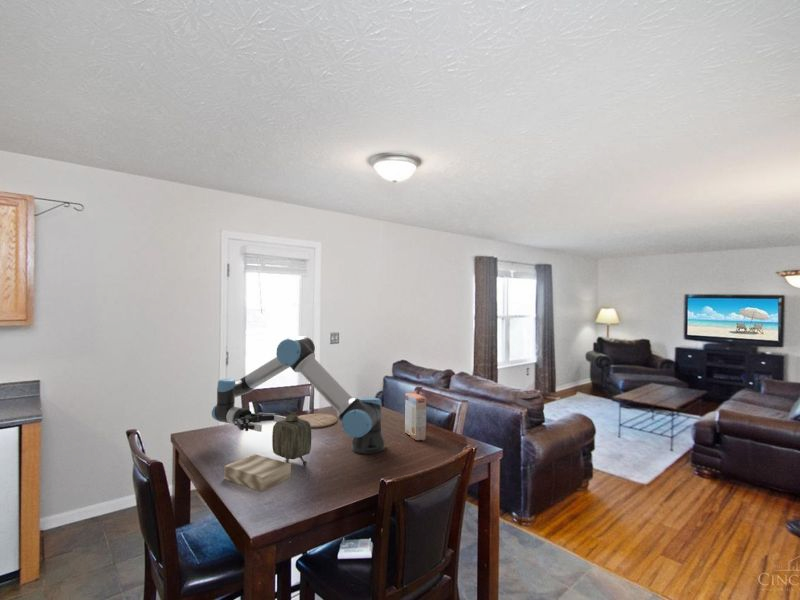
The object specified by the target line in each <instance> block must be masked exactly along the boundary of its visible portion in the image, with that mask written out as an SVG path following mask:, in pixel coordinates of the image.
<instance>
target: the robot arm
mask: <svg viewBox="0 0 800 600" xmlns="http://www.w3.org/2000/svg"><path fill="white" fill-rule="evenodd" d="M315 351H316V346H315V343H314V341H313V340H312V339H311V338H309V337H308V336H305V335H304V336H303V335H302V336H295V337H287V338H285V339H283V340H281V342H279V344H278V345H277V347H276V356H275V357H274V358H272V359H270V360H269V361H268V362H266V363H264V364H263V365H260V366H259V367H257V368H256V369H255V370H253V371H251V372H250V373H248V374H247V375H245V376H243V377H241V378H240V379H238V380H237V379H234V378H222V379H219V380H218V381H217V388H216V404H215V405H214V407H212V408H213V409H212V410H211V417H212V418H213V420H215V421H217V422H220V423H225V424H226V423H227V424H231V425H233V426H237V428H238V429H239V430H240V431H245V432H248V431H249V430H251V431H255V432H262V431H263V430H262V426H263V425H262V424H261V423H260V422H272V421H273V422H275V423H276V422H279V421H282V420H286V417H287V416H284V415H283V416H282V415H280V413H277V412H275V413H274V412H272V413H271V412H257V413H255V412H254V413H252V411H251V410H250V409H249V408H248V409H247V408H243V407H238V406H235V404H236V403H235V401H236V398H237V397H240V396H243V395H246V394H249V393H252V391H253V390H254V389H255V388H257V387H259V386H260V385H262V384H263V383H265V382H267V381H269V380H270V379H273V378H274V377H275V376H277V375H279V374H281V373H282V372H285V371H286V370H288V369H289V368H290V369H292V371H294V373H300V374H301V375H302V376H303V377H304V378H305V379H306V380H307V381H308V383H309V384H310V385H311V386H312V387H313V388H314V389H315V390H316V391H317V392H318V393H319V394H320V395H321V396H322V397H323V398H324V399H325V400H326V401H327V403H328V404H329V405H330V406H331V407H332V408H333V409H334V410H335V411H336V413H337V420H339V421H340V422H341V427H342V430H343V431H344V433H346V435H348V436H349V437H351V438H353V439H352V443H351V450H352V451H353V452H355V453H358V454H361V455H362V454H363V455H370V454H371V455H372V454H373V453H374V454H377V453H381V452H383V451H384V450H385V448H386V443H385V440H384V436H383V433H382V400H381V399H380V398H378V397H377V398H376V397H352V396H351V395H350V394H349V393H348V391H346V390H345V389H344V387H343V386H342V385H340V383H339V382H338V381H337V380H336V379H335V378H334V377H333V376H332V375H331V374H330V373H329V371H327V369H325V368H324V367H323V365H322V364H321V363H319V361H318V360H317V359H316V353H315ZM382 450H383V451H382ZM380 451H381V452H380ZM374 454H373V455H374Z"/></svg>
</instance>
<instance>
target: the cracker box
mask: <svg viewBox="0 0 800 600" xmlns="http://www.w3.org/2000/svg"><path fill="white" fill-rule="evenodd" d="M404 395H405V399H404V401H405V403H404V404H405V405H404V407H405V408H404V411H405V415H404V421H405V422H404V434H405V433H407V434H408V435H410V436H411V437H412V438H414V439H415V440H419V439H426V440H427V397H425V396H423V395H420V394H418V393H417V392H406V393H405V394H404ZM407 434H406V435H407ZM408 435H407V436H408ZM411 437H410V438H411ZM412 438H411V439H412ZM414 439H413V440H414ZM415 440H414V441H415Z"/></svg>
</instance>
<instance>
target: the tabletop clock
mask: <svg viewBox="0 0 800 600" xmlns="http://www.w3.org/2000/svg"><path fill="white" fill-rule="evenodd" d="M288 406H294V407H295V408H296V411H294V409H291V410H290V409H288ZM286 411H287V412H288V413H289V414H287V416H285V417H286V420H282V421H279V422H275V423H274V424H273V427H272V437H271V438H272V439H271V442H272V443H271V444H272V452H273V454H274V455H276V456H279V457H281V458H284V459H286V461H285V462H286V463H290V462H289V461H290V460H297V459H298V458H299V459H300V460H301V461H302V465H303V466H306V465H307V464H308V463H307V461H306V460H305V459H304V458H303V457H304V456H306V455H309V454H311V453H310V452H311V449H312V439H313V438H312V429H311V426H310V423H309V422H308V421H306V420H303V419H300V418H298V416H299V415H297V413H298V412H299V407H298V405H296V403H293V402H289V403H287V404H286Z"/></svg>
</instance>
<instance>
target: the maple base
mask: <svg viewBox="0 0 800 600" xmlns="http://www.w3.org/2000/svg"><path fill="white" fill-rule="evenodd" d="M286 462H287V461H281V460H278V459H275V458H274V459H273V458H271V457H267V456H263V455H260V454H256V453H254V454H251V455H249V456H246V457H243V458H240V459H239V460H235V461H234V462H231V463H227V464H226V465H224V468H223V469H224V470H223V471H224V475H223V476H224V477H223V479H224V480H225V479H227V480H226V481H228V480H230V481H229V482H231V481H233V482H232V483H234V482H236V483H235V484H237V483H238V485H240V484H241V485H240V486H243V485H244V487H246V486H247V487H246V488H249V487H250V489H252V488H253V489H252V490H255V489H256V490H257V491H259V492H263V491H266V490H268V489H270V488H272V487H274V486H276V485H278V484H280V483H282V482H284V481H286V480H288V479H290V478H291V477H292V463H290V462H289V463H286ZM256 490H255V491H256Z"/></svg>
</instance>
